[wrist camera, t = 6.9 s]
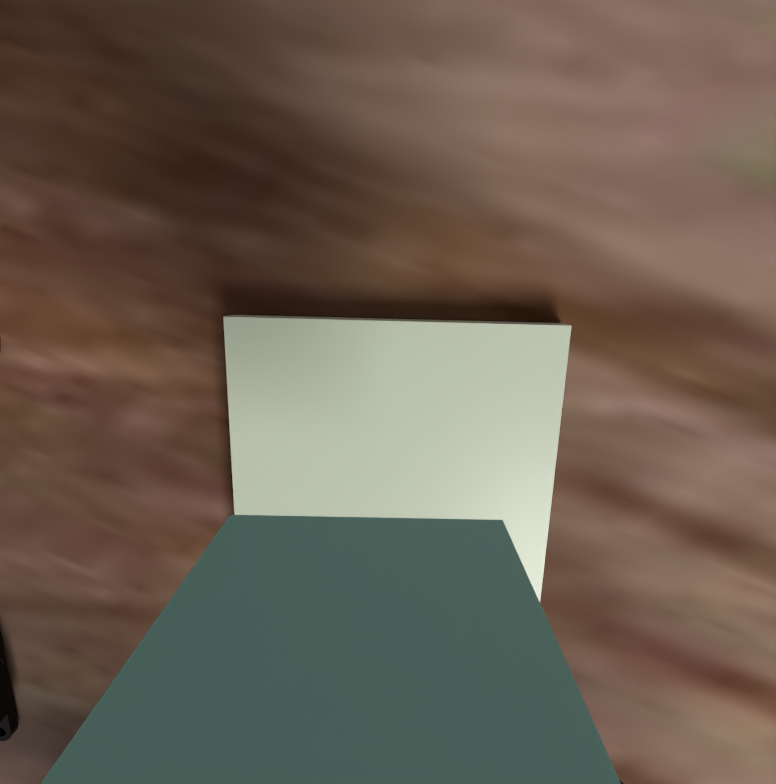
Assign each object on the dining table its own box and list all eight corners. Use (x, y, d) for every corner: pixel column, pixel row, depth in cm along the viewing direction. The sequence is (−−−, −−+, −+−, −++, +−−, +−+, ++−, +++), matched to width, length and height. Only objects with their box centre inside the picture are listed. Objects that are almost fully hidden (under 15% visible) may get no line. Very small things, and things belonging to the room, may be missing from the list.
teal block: (245, 733, 10) (98, 1178, 5) (230, 514, 9) (17, 815, 4) (485, 738, 10) (575, 1196, 5) (502, 520, 9) (643, 832, 4)
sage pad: (247, 599, 20) (240, 616, 19) (232, 314, 17) (223, 316, 16) (530, 608, 20) (537, 625, 19) (561, 323, 17) (571, 325, 16)
